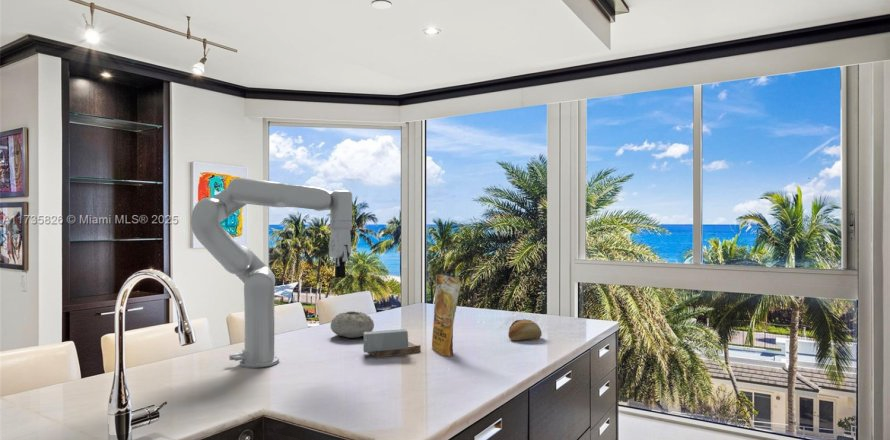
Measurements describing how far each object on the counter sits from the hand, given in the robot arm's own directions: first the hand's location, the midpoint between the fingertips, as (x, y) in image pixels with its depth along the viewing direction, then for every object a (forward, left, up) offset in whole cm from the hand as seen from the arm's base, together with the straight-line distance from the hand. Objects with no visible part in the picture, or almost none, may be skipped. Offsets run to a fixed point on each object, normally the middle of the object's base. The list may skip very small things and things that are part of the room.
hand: (340, 277), depth 184 cm
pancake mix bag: (+36, -11, -29) cm, 47 cm away
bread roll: (+75, -10, -29) cm, 81 cm away
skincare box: (+8, -1, -23) cm, 24 cm away
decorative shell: (+16, +30, -29) cm, 44 cm away
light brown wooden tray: (+20, 0, -28) cm, 35 cm away
